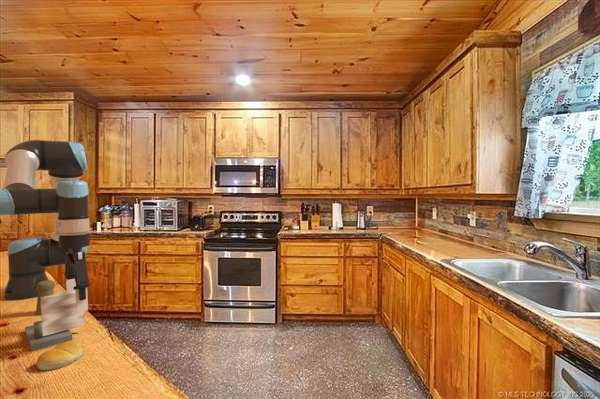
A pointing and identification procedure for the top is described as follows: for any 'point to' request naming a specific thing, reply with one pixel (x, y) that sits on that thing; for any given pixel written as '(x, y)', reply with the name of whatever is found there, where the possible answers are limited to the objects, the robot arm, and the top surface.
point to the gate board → (46, 338)
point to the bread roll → (59, 356)
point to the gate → (58, 314)
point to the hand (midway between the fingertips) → (77, 305)
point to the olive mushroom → (44, 292)
